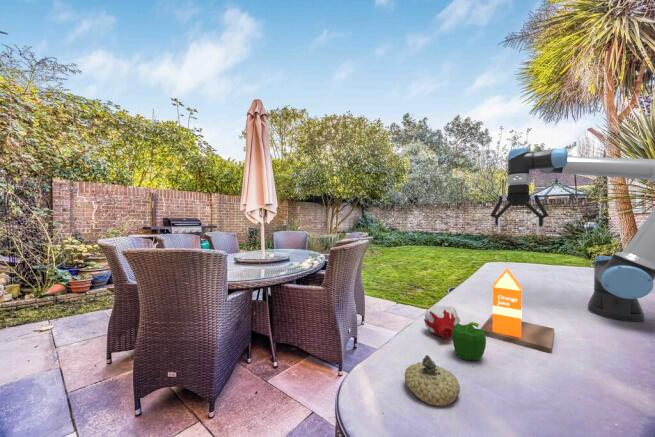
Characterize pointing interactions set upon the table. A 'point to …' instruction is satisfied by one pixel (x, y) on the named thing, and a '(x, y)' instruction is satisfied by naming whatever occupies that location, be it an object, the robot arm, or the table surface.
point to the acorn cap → (432, 382)
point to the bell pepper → (469, 341)
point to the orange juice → (507, 305)
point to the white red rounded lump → (441, 320)
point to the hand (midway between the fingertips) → (517, 233)
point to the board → (525, 335)
